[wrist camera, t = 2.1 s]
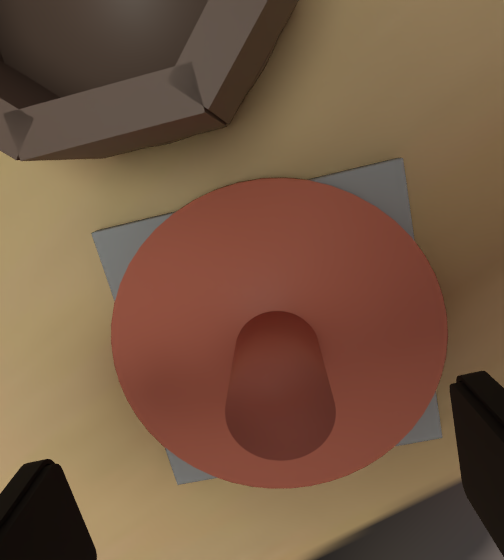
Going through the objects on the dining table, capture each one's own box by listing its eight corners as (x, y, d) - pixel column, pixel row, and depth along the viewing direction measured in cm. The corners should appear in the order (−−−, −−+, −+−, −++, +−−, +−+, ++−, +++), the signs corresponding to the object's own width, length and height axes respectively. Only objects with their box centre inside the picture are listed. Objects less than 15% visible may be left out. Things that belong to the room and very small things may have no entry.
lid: (415, 138, 14) (486, 131, 10) (456, 445, 17) (524, 551, 13) (73, 222, 15) (-9, 252, 11) (169, 496, 19) (137, 608, 14)
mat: (397, 158, 15) (403, 157, 14) (436, 428, 18) (442, 437, 17) (97, 230, 16) (91, 232, 15) (180, 474, 19) (177, 484, 18)
